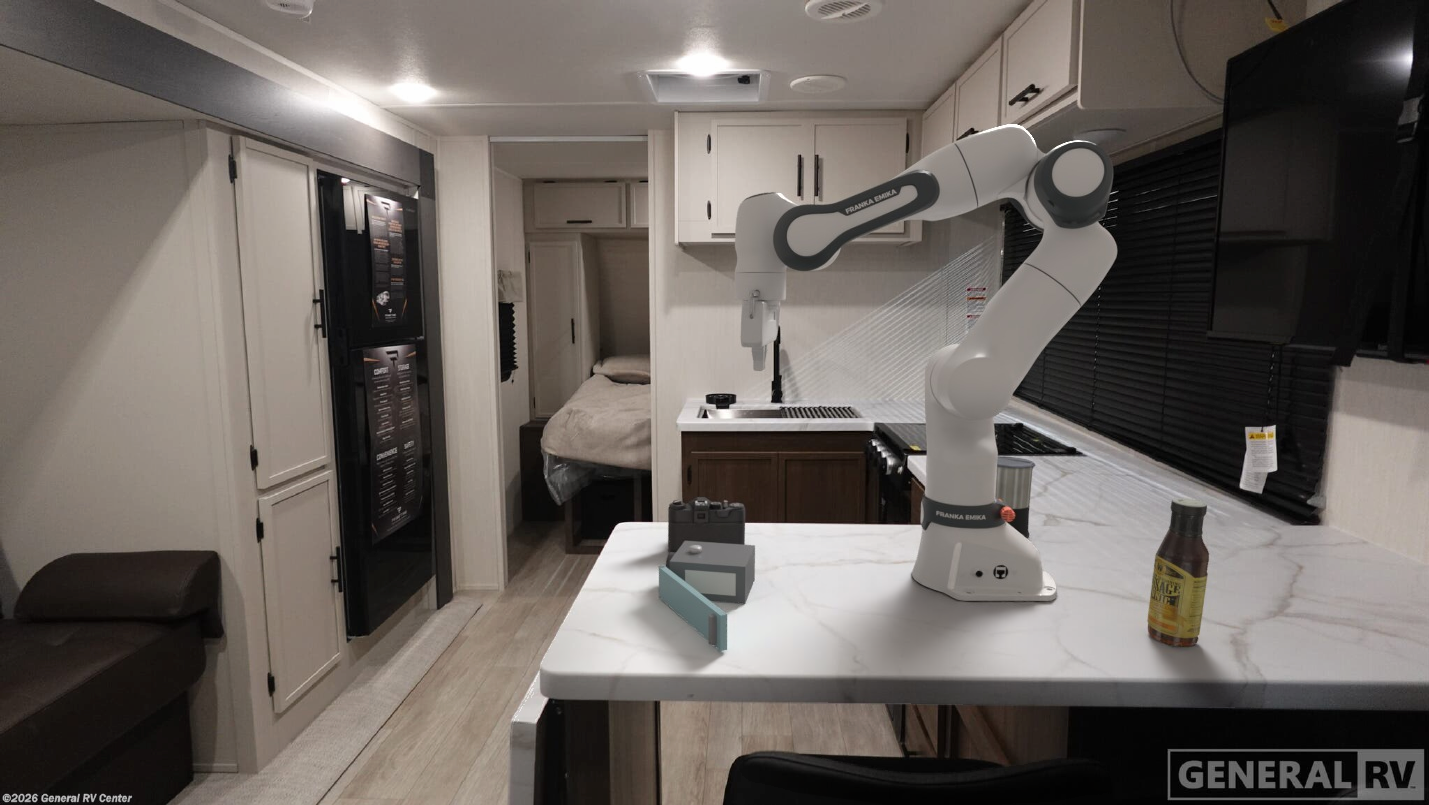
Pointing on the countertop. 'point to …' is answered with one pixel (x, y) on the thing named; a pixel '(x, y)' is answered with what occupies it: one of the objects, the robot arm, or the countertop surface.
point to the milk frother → (1015, 489)
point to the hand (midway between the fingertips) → (759, 370)
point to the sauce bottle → (1180, 577)
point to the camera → (705, 522)
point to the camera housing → (715, 569)
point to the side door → (693, 608)
